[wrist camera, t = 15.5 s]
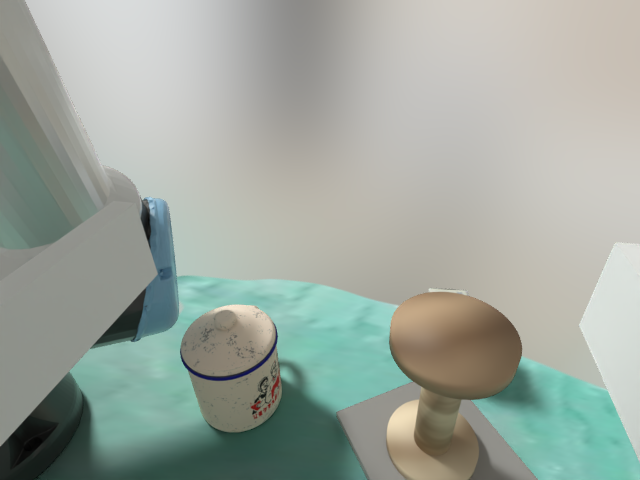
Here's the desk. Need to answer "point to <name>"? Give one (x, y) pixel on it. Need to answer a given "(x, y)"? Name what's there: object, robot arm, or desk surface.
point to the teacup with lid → (233, 366)
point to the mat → (371, 429)
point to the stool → (446, 380)
